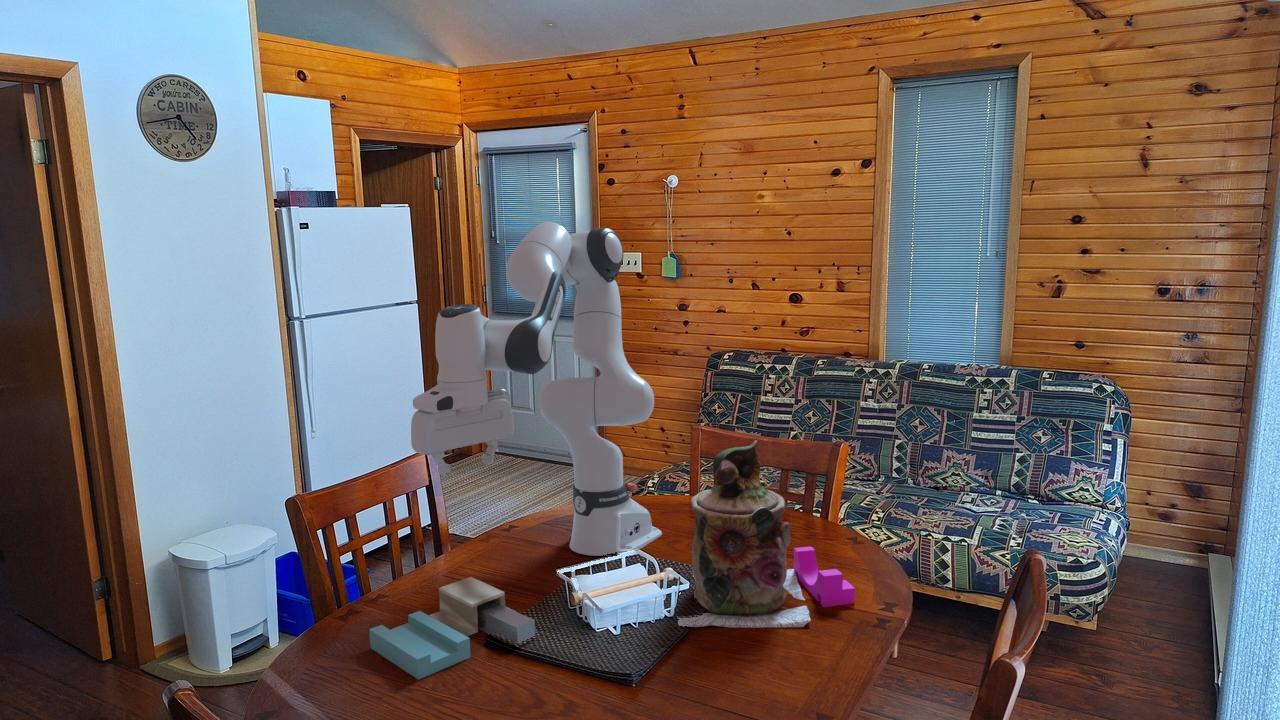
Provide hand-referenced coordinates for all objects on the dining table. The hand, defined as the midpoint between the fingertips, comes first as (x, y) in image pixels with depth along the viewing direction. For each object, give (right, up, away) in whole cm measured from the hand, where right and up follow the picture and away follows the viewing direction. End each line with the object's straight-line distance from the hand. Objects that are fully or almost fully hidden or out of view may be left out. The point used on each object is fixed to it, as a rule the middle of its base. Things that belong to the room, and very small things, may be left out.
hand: (466, 468), depth 152 cm
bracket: (0, -29, +4) cm, 29 cm away
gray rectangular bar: (+4, -30, +1) cm, 30 cm away
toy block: (+68, -27, +11) cm, 74 cm away
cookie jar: (+51, -27, +9) cm, 59 cm away
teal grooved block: (-6, -31, -9) cm, 33 cm away
